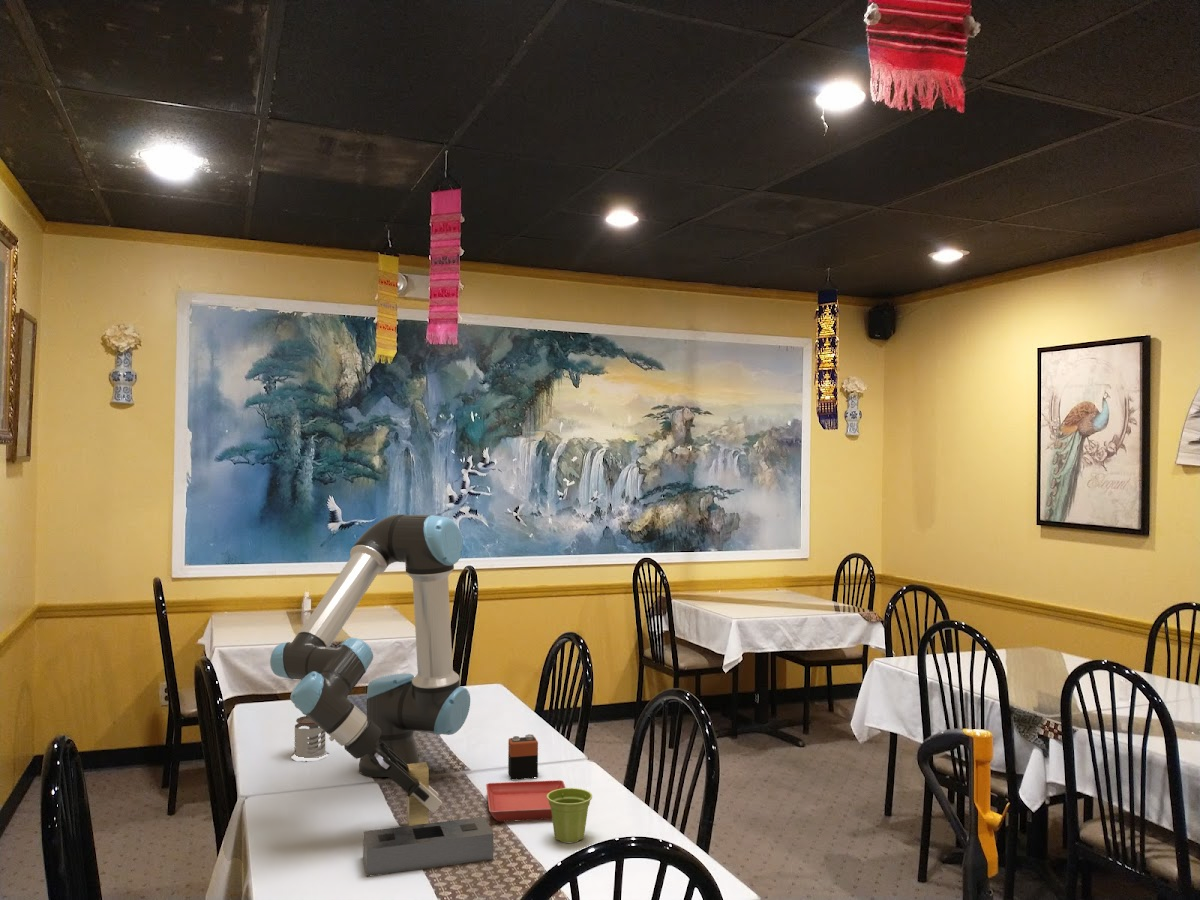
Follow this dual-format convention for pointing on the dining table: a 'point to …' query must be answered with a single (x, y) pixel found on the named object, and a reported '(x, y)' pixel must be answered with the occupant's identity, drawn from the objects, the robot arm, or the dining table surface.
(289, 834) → the dining table surface
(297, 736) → the french press
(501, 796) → the plant saucer
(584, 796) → the plant pot
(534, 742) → the battery
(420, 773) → the brass post
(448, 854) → the gray socket block
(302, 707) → the robot arm
